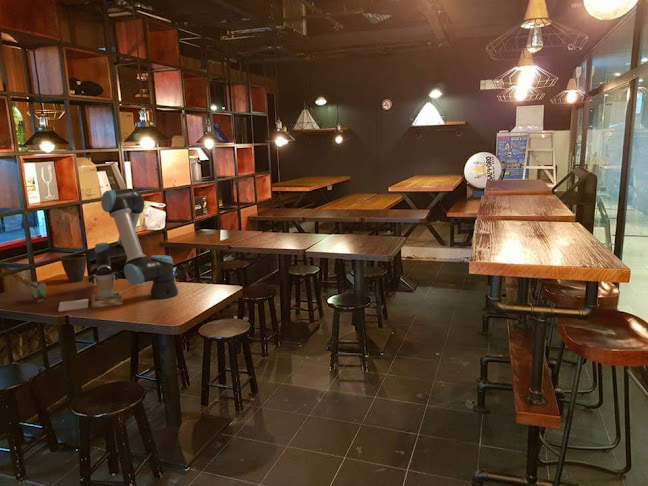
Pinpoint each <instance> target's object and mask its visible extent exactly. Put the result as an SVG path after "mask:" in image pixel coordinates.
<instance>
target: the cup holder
mask: <svg viewBox="0 0 648 486" xmlns="http://www.w3.org/2000/svg"><path fill="white" fill-rule="evenodd" d="M123 304H124V303H123V296H122V291H113V296H110V297H100V295H99V293H98V294H92V295H91V308H93V309H94V308H102V307H109V306H117V305H118V306H119V305H123Z"/></svg>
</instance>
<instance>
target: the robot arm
mask: <svg viewBox="0 0 648 486" xmlns="http://www.w3.org/2000/svg"><path fill="white" fill-rule="evenodd" d="M100 201H101V202H100V203H101V208H102V210H103V211H104V212H105V213H109V217H111V218H113V220H114V223H115V226H116V228H117V229H116V230H117V233H118V238H117V242H116V243H115V244H109V243H108V242H98V243H96V244H95V246H94V252H95V260H96V271H97V270H99V269H104V268H110V269H111V270H112V266H111V265H112V263H111V258H116V257H122V256H126V258H127V259H126V261H125V265H124V267H123V274H124V277H125V278H126V280H127V281H128V282H129V283H131V284H132V285H139V284H143V283H147V282H151V281H152V286H151V289H150V293H149V294H150V297H151V298H153V299H169V298H174V297H176V296H177V294H178V295H179V289H178V286H177V285H176V283H175V275H174V262H173V258H172V256H170V255H164V254H155V255H151V256H150V259H149V258H148V256H147V255H146V254H145V253H144V252H143V249H142V246H141V244H140V239H139V237H138V234H137V231H136V228H137V225H138V221H139V219H140V215H141V214H142V213H143V212H144V209H145V200H144V196H143V195H142V193H141V192H140V191H139V190H137V189H135V188H129V187H128V188H120V189H119V188H118V189H110V190H106V191H104V192H103V193H102V196H101V200H100ZM118 280H122V277H121V273H119V272H118V271H117V270H116V271H114V272H113V284H116V281H118ZM87 281H88V283H91V284H92V285H93V284H94V286H97V281H96V275H95V274H94V273H91V275H90V276H89V277H88V280H87ZM173 296H174V297H173Z"/></svg>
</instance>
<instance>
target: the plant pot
mask: <svg viewBox="0 0 648 486" xmlns="http://www.w3.org/2000/svg"><path fill="white" fill-rule="evenodd" d="M59 259H60V262H61V265H62V268H63V271H64V272H65V275H66V278H68V281H69V282H70V283H78V282H82V281H83V280H84V277H85V273H86V267H87V254H84V253H75V254H74V253H73V254H66V255H63V256H60V258H59Z"/></svg>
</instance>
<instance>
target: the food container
mask: <svg viewBox="0 0 648 486" xmlns="http://www.w3.org/2000/svg"><path fill="white" fill-rule="evenodd" d="M29 287H30V293H31V298H32V301H33V300H34V301H33V302H35V303H37V304H42V303H45V302H46V301H45V300H46V288H47V285H46V283H45V281H32V282H29ZM41 302H42V303H41Z"/></svg>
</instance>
